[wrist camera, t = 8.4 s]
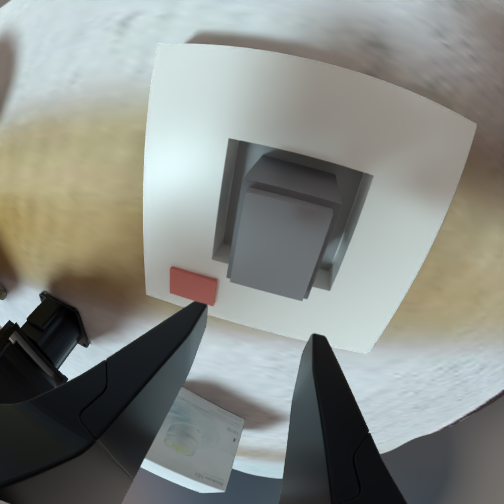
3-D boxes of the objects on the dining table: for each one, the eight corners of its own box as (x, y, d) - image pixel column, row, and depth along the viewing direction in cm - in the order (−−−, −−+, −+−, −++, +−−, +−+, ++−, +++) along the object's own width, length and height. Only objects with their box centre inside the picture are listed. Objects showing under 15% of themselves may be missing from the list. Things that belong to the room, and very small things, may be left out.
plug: (311, 252, 17) (306, 307, 13) (246, 235, 18) (222, 285, 14) (335, 174, 15) (342, 209, 10) (262, 155, 15) (239, 182, 11)
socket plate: (364, 329, 20) (367, 357, 18) (161, 274, 22) (144, 297, 19) (456, 118, 12) (480, 125, 9) (178, 48, 13) (153, 42, 11)
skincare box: (247, 418, 31) (226, 493, 22) (222, 428, 35) (201, 493, 26) (171, 378, 30) (135, 456, 21) (155, 393, 33) (123, 459, 24)
